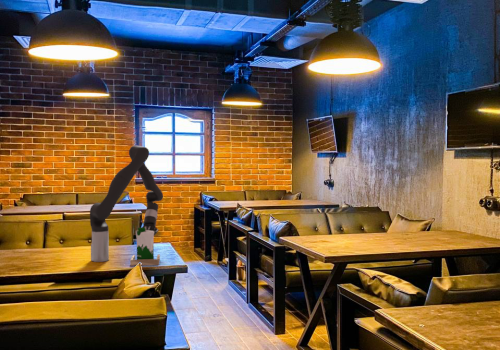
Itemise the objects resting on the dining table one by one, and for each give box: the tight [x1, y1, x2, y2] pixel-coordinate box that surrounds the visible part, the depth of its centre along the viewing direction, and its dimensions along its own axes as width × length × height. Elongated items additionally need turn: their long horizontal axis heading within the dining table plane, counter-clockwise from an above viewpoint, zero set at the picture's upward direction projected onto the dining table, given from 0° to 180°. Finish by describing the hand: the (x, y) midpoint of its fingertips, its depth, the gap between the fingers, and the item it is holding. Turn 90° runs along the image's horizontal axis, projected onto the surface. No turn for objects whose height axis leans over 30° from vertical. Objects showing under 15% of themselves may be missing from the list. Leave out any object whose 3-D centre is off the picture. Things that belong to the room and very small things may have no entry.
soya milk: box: [135, 226, 155, 260], centre depth 279 cm, size 9×9×20 cm
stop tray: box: [129, 253, 161, 267], centre depth 279 cm, size 15×15×3 cm
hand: (146, 243), depth 296 cm, fingers closed
